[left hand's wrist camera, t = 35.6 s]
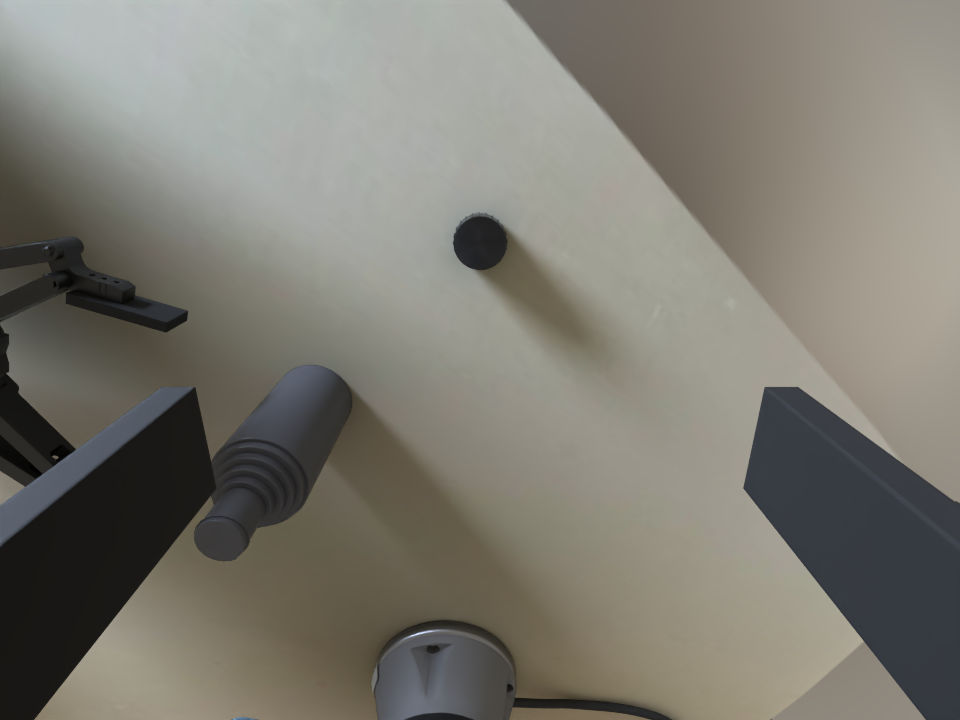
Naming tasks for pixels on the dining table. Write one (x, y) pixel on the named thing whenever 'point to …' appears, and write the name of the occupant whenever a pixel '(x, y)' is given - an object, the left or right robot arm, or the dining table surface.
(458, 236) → the cap
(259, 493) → the bottle
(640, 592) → the dining table surface
